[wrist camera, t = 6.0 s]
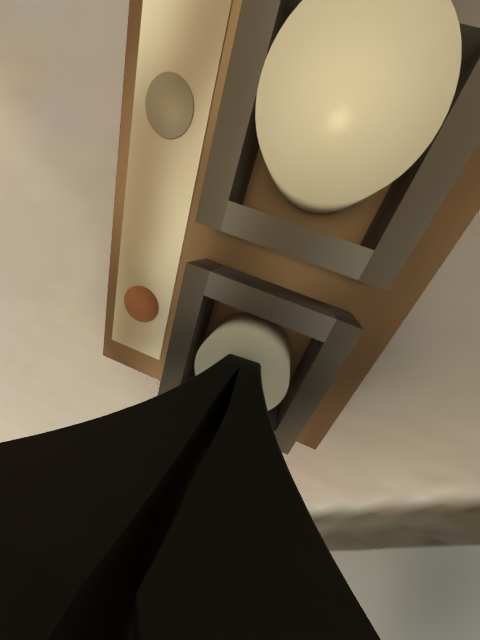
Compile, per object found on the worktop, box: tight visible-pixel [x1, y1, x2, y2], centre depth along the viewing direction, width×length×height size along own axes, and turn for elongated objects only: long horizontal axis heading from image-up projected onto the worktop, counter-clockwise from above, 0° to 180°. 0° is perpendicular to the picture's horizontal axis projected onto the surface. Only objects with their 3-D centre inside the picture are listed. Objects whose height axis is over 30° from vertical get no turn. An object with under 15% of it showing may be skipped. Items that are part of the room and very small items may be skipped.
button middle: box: [255, 0, 462, 214], centre depth 6 cm, size 4×4×2 cm
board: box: [103, 0, 480, 454], centre depth 8 cm, size 14×26×3 cm, turn 162°
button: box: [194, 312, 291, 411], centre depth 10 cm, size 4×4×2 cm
